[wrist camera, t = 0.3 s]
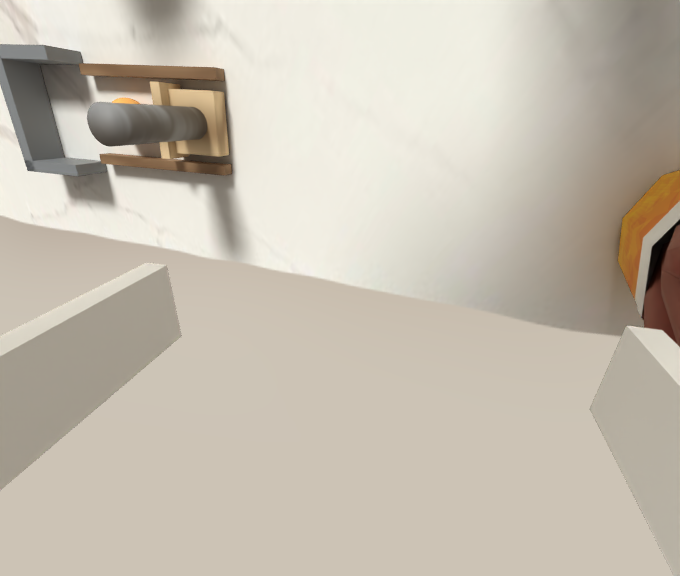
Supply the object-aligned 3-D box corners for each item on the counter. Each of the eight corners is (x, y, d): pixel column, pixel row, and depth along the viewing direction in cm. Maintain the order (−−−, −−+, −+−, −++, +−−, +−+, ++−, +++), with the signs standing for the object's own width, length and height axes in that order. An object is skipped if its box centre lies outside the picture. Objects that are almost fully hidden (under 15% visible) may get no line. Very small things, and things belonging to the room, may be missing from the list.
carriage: (171, 84, 37) (52, 68, 26) (223, 86, 36) (122, 71, 25) (181, 155, 40) (78, 169, 29) (229, 159, 39) (142, 176, 28)
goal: (27, 50, 40) (-13, 44, 36) (80, 51, 38) (44, 45, 35) (59, 166, 45) (27, 170, 42) (107, 171, 44) (78, 176, 40)
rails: (90, 65, 39) (78, 63, 37) (223, 69, 36) (215, 67, 34) (111, 162, 43) (101, 163, 42) (232, 173, 40) (224, 175, 39)
